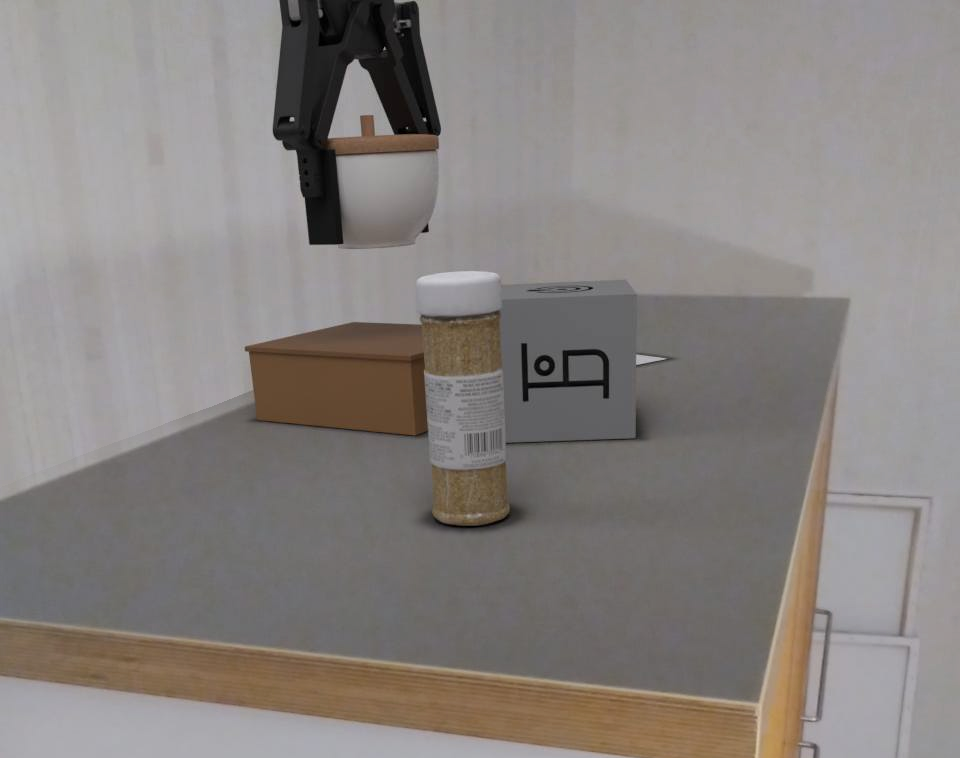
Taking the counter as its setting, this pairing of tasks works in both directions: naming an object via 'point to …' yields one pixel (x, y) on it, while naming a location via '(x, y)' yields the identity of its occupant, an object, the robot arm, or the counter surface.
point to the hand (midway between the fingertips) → (371, 238)
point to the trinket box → (385, 186)
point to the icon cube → (569, 360)
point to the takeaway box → (344, 378)
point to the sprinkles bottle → (464, 395)
